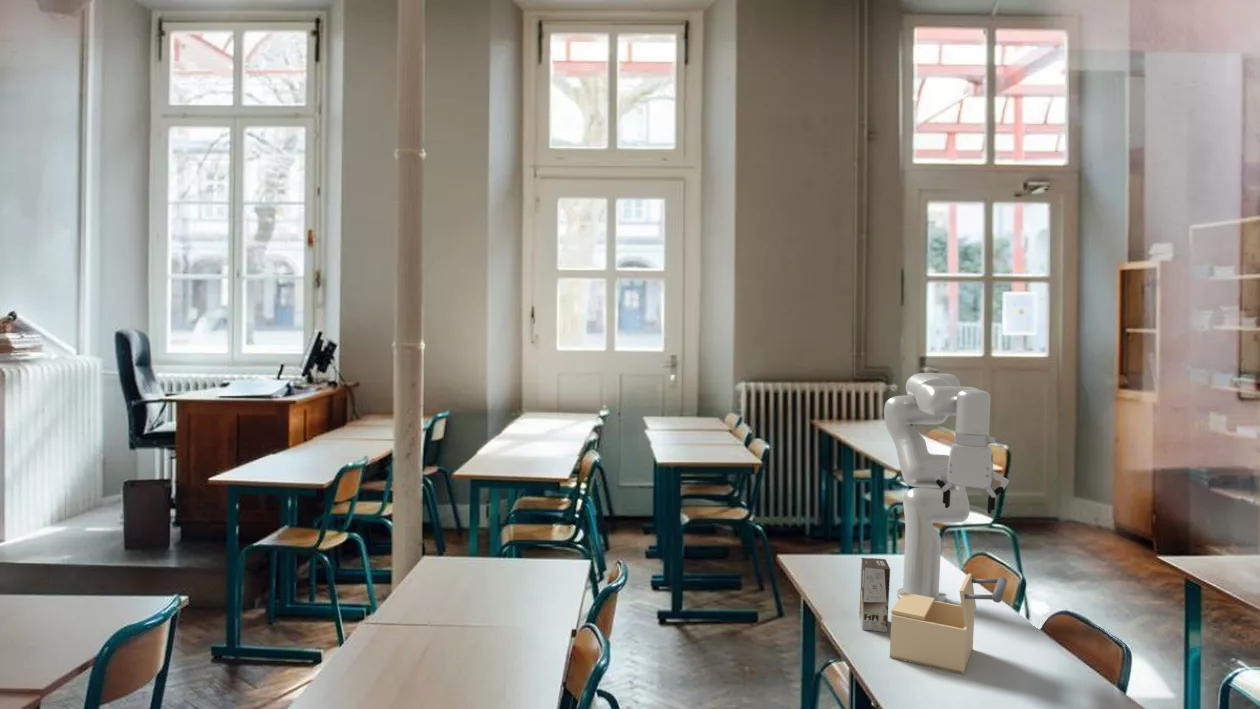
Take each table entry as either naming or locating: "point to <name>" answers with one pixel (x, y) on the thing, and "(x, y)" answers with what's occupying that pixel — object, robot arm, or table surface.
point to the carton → (930, 633)
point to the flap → (969, 596)
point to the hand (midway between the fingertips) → (968, 509)
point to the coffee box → (874, 594)
